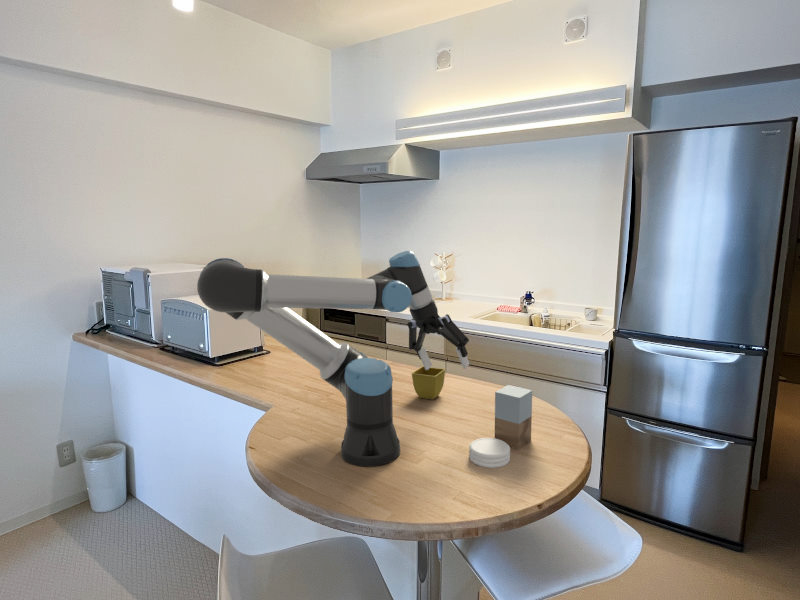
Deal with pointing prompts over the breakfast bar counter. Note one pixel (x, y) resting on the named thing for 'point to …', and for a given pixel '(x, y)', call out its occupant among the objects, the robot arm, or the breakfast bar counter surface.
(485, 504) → the breakfast bar counter surface
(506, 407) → the block top
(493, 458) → the white round disc
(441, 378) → the flower pot
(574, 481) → the breakfast bar counter surface
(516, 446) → the block bottom
